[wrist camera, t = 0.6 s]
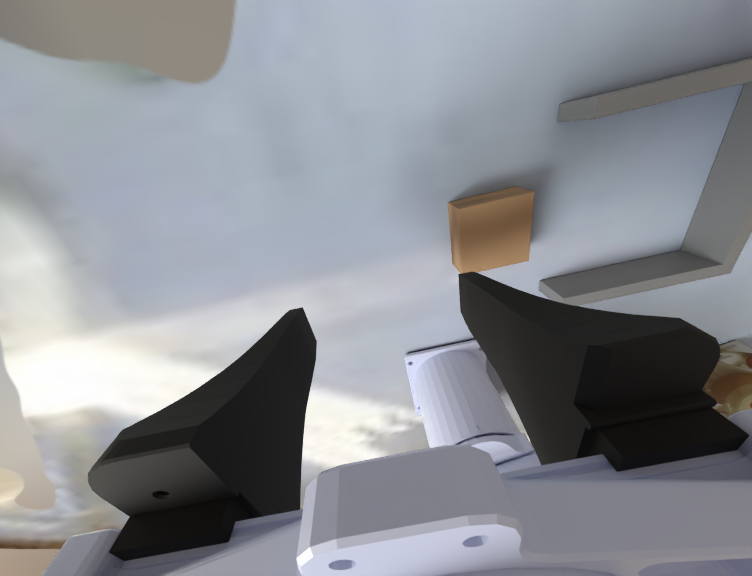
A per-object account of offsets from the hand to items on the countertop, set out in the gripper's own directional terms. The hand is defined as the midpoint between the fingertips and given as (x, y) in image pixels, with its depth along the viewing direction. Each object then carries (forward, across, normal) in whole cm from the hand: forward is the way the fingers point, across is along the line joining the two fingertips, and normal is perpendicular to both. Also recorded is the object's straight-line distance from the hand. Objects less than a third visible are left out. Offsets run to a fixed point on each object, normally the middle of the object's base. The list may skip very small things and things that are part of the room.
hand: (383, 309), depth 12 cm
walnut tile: (+10, -8, +1) cm, 13 cm away
